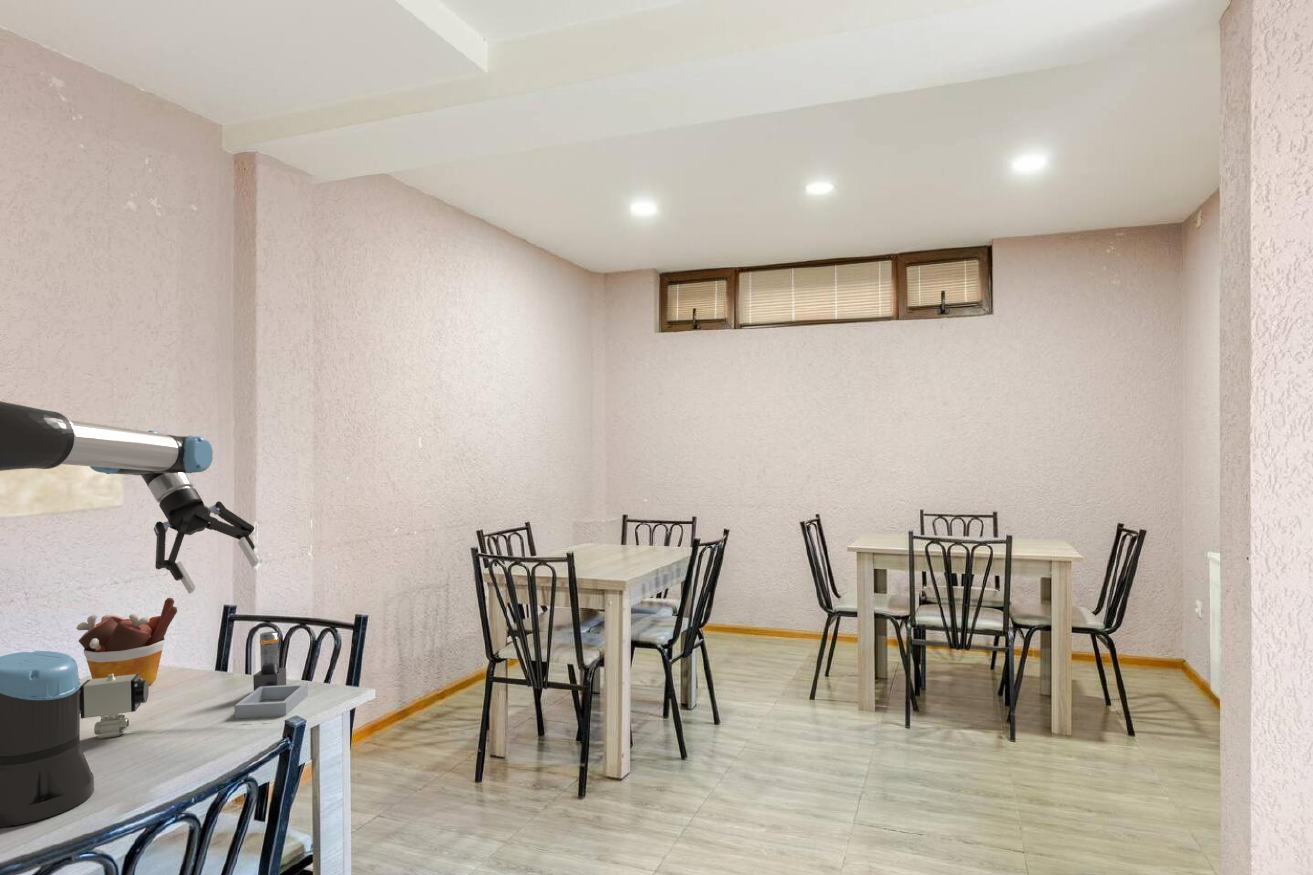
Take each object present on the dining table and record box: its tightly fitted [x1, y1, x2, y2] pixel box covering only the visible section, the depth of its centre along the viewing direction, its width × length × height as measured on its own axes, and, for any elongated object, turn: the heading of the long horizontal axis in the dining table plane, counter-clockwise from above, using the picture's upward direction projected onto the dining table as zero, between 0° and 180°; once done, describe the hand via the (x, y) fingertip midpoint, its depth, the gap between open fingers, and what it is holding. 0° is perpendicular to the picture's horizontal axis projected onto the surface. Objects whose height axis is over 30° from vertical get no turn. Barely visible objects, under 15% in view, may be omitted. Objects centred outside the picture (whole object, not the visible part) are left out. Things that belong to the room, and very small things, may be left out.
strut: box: [252, 631, 287, 691], centre depth 170 cm, size 5×5×13 cm
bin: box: [234, 683, 309, 726], centre depth 161 cm, size 12×10×4 cm
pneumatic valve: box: [80, 674, 150, 740], centre depth 151 cm, size 6×12×12 cm, turn 112°
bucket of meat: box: [76, 597, 178, 686], centre depth 181 cm, size 20×16×20 cm
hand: (225, 577), depth 164 cm, fingers open, 13 cm apart
